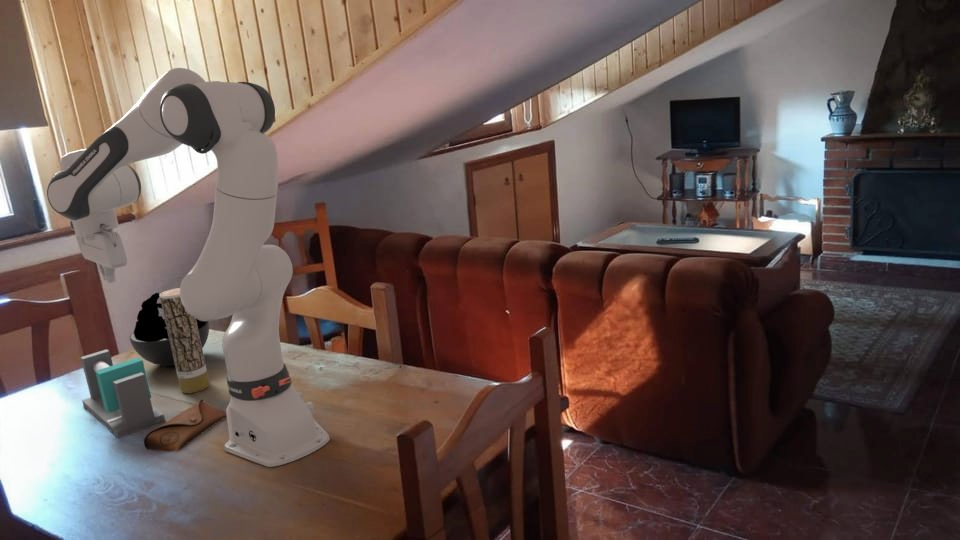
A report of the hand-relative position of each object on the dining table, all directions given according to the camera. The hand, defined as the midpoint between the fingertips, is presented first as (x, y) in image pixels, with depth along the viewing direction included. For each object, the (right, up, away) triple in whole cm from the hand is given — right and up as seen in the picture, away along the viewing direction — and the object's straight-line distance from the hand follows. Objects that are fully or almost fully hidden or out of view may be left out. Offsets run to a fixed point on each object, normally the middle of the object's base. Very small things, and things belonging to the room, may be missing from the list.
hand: (109, 281), depth 169 cm
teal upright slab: (+5, -27, -3) cm, 28 cm away
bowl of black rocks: (+2, -23, +32) cm, 39 cm away
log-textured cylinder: (+14, -27, +14) cm, 33 cm away
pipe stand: (+1, -31, +3) cm, 31 cm away
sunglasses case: (+22, -33, -9) cm, 40 cm away
